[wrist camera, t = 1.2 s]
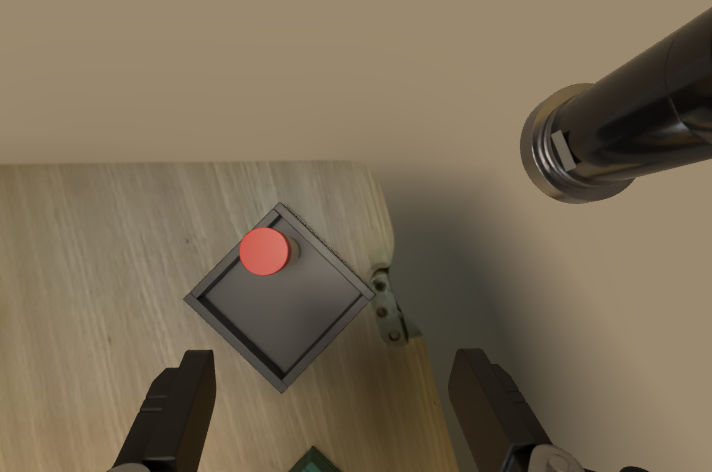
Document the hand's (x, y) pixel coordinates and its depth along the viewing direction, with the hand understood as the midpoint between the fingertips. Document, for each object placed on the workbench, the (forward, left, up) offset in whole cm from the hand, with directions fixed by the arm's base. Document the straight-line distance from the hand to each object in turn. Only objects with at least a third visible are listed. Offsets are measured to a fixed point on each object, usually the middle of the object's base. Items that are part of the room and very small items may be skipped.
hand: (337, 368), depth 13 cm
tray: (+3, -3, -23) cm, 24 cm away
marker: (+1, -6, -23) cm, 23 cm away
